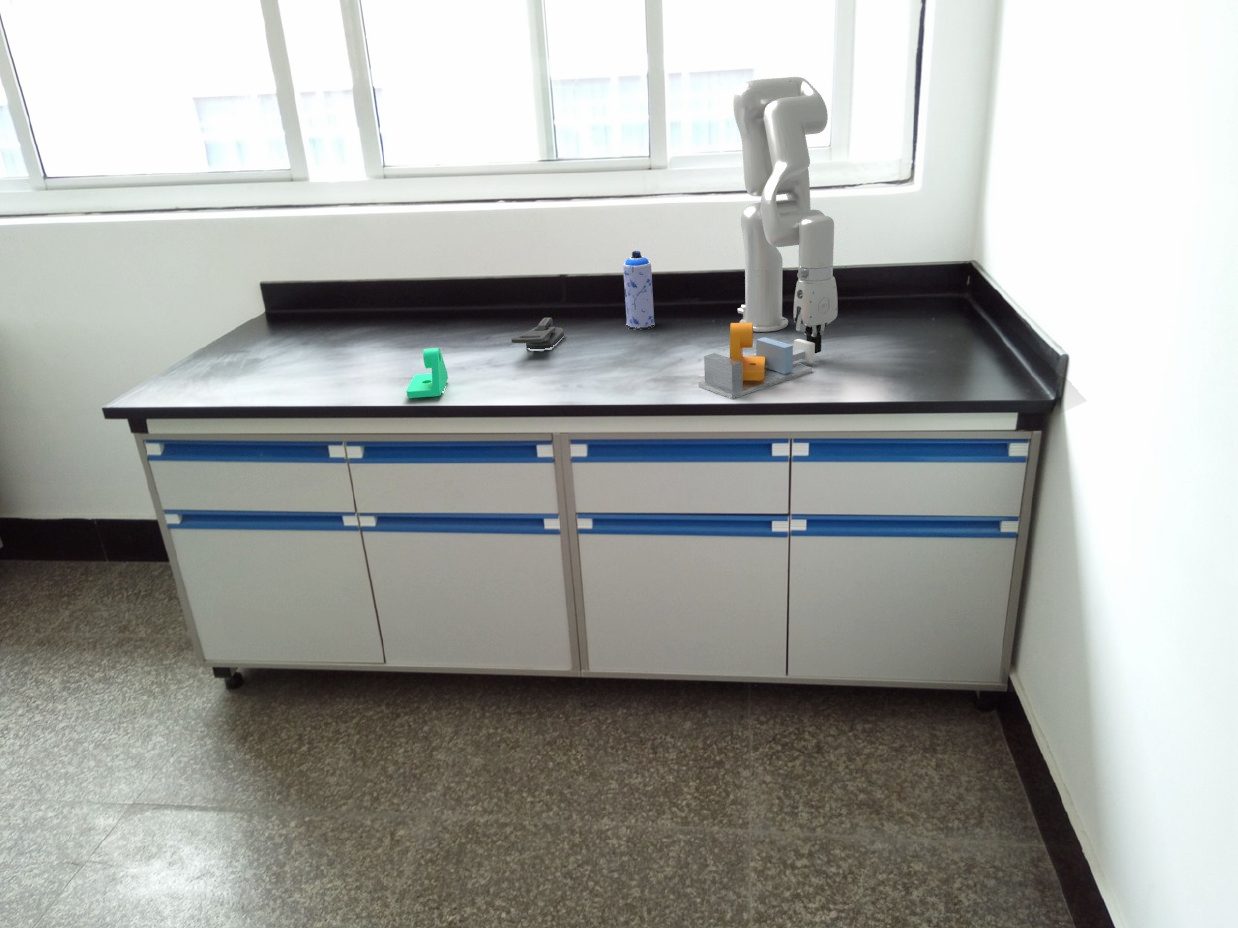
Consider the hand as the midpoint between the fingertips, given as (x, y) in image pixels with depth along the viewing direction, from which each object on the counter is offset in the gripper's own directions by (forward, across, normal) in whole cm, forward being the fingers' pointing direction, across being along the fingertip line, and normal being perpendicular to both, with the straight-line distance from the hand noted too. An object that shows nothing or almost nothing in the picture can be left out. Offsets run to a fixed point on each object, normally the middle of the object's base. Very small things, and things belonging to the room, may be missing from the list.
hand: (813, 351), depth 211 cm
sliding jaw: (+1, -8, 0) cm, 8 cm away
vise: (+2, -18, 0) cm, 18 cm away
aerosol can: (+2, -10, +54) cm, 55 cm away
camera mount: (+3, -76, +48) cm, 90 cm away
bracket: (+1, -20, +1) cm, 20 cm away
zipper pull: (+2, -40, +56) cm, 70 cm away
